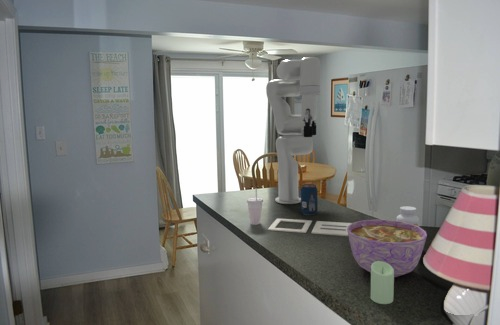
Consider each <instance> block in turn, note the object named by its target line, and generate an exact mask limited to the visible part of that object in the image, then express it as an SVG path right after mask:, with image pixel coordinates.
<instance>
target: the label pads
mask: <svg viewBox="0 0 500 325" xmlns="http://www.w3.org/2000/svg"><path fill="white" fill-rule="evenodd" d="M281 222H285V223H286V222H287V223H300V224H301V223H303V224H304V225H303V226H302V228H301V229H300V228H297V229H296V228H284V227H277V226H278V225H279V224H280V223H281ZM312 222H313V220H308V219H292V218H276V219H275V220H274V221H273V222H272V224H270V226H269V227H268V228H267V231H271V232H272V231H273V232H275V231H276V232H287V233H300V234H306V233H307V232H308V230H309V227H310V226H311V224H312ZM352 223H353V222H339V221H337V222H336V221H323V220H321V221H320V220H316V221H315V224H314V226H313V229H312V230H311V234H314V235H328V236H340V237H349V236H348V232H347V228H348V226H349V225H350V224H352Z"/></svg>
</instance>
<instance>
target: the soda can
mask: <svg viewBox="0 0 500 325" xmlns="http://www.w3.org/2000/svg"><path fill="white" fill-rule="evenodd" d="M300 198H301V202H300V212H301V213H302V214H303V215H304V216H313V215H316V214H317V213H318V207H319V206H318V202H319V201H318V188H317V185H316V184H312V183H310V184H309V183H308V184H307V183H305V184H302V185H301V188H300Z"/></svg>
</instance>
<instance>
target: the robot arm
mask: <svg viewBox="0 0 500 325" xmlns="http://www.w3.org/2000/svg"><path fill="white" fill-rule="evenodd" d="M276 75H277V77H278V78H279V79H278V78H277V79H273V80H270V81H268V82H267V83H266V88H265V89H266V91H265V92H266V93H265V94H266V98H267V100H268V104H269V105H270V107H271V109H272V113H273V119H274V125H275V130H276V133H277V134H279V135H280V136H278V137H277V138H276V139H275V150H276V155H277V156H276V157H277V178H278V180H277V184H278V185H277V188H278V196H277V197H275V198H274V199H275V202H276V203H278V204H280V205H281V204H283V205H294V204H299V203H300V204H301V196H300V197H299V163H298V162H297V161H296V159H295V157H294V156H302V155H303V156H304V155H309V154H311V153H312V152H313V150H314V141H313V136H316V135H317V121H316V120H317V119H318V96H319V95H321V60H320V58H318V57H315V56H309V57H303V58H301V59H284V60H280V63H279V64H278V66H277V67H276ZM300 96H301V104H300V105H301V108H300V109H301V110H300V114H292V111H291V110H292V109H291V106H290V105H289V103H287V101H286V100H284V99H283V98H287V97H289V98H291V97H293V98H294V97H300Z"/></svg>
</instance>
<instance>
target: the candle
mask: <svg viewBox="0 0 500 325" xmlns="http://www.w3.org/2000/svg"><path fill="white" fill-rule="evenodd" d="M394 283H395V277H394V269H393V267H392V266H391V265H389V264H388V263H386V262H382V261H376V262H374V263H372V265H371V273H370V299H371V300H372V302H374V303H376V304H380V305H390V304H392V303H393V302H394V293H395V292H394V291H395V290H394V288H395V286H394V285H395V284H394Z"/></svg>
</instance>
